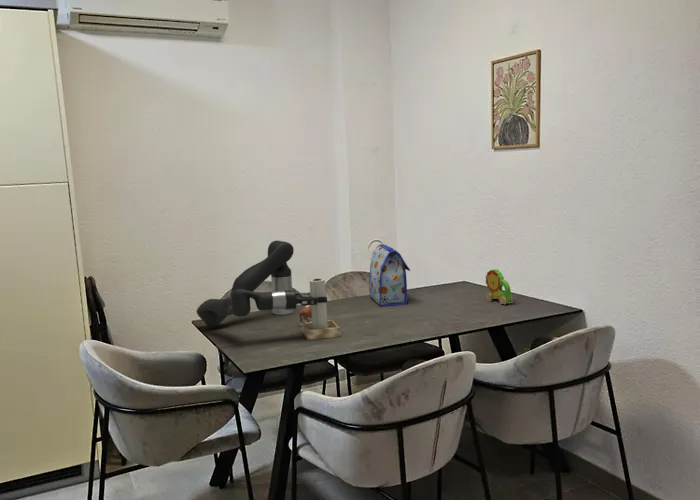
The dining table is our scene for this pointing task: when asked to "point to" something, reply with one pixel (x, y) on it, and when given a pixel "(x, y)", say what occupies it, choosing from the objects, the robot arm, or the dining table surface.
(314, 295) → the paper towel roll
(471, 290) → the dining table surface
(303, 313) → the bull figurine
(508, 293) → the toy lion
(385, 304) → the lunch bag
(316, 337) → the wooden tray
